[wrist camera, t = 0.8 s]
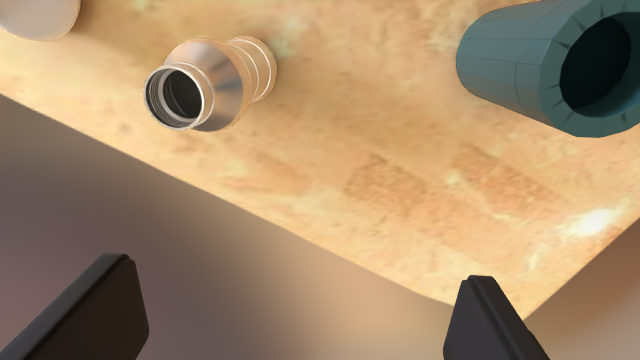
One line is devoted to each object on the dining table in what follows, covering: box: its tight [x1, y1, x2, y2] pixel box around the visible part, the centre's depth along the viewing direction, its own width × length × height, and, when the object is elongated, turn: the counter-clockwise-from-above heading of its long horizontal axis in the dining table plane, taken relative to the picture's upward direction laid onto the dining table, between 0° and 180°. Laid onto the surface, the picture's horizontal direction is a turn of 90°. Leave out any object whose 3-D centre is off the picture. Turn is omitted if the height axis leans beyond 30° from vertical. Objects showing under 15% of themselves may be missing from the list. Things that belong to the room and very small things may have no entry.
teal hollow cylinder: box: [456, 0, 640, 138], centre depth 29 cm, size 9×9×16 cm
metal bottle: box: [143, 36, 277, 132], centre depth 28 cm, size 6×7×20 cm
